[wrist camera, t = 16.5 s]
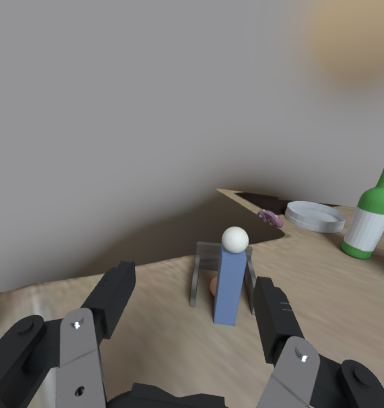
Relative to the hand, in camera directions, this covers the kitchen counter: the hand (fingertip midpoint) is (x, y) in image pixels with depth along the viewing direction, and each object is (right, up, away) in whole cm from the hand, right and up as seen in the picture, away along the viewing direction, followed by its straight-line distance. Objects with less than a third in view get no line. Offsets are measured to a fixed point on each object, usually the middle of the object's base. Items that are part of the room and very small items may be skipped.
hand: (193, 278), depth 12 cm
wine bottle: (+53, -11, +50) cm, 74 cm away
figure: (+6, -18, +27) cm, 33 cm away
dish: (+53, -3, +72) cm, 89 cm away
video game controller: (+32, -4, +67) cm, 74 cm away
